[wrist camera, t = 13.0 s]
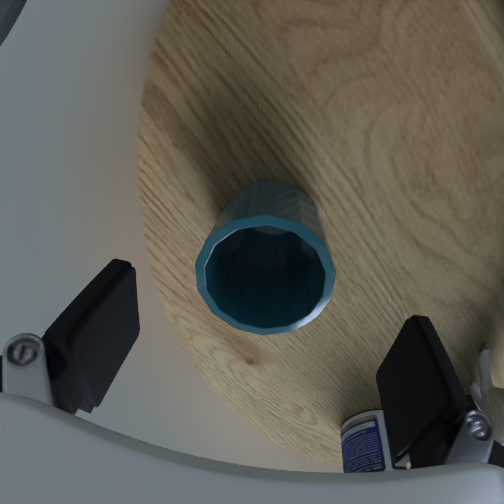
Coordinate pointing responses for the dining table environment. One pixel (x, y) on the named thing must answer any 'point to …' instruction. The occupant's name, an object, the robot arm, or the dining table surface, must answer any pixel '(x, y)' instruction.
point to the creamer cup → (266, 260)
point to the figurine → (489, 394)
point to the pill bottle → (367, 444)
